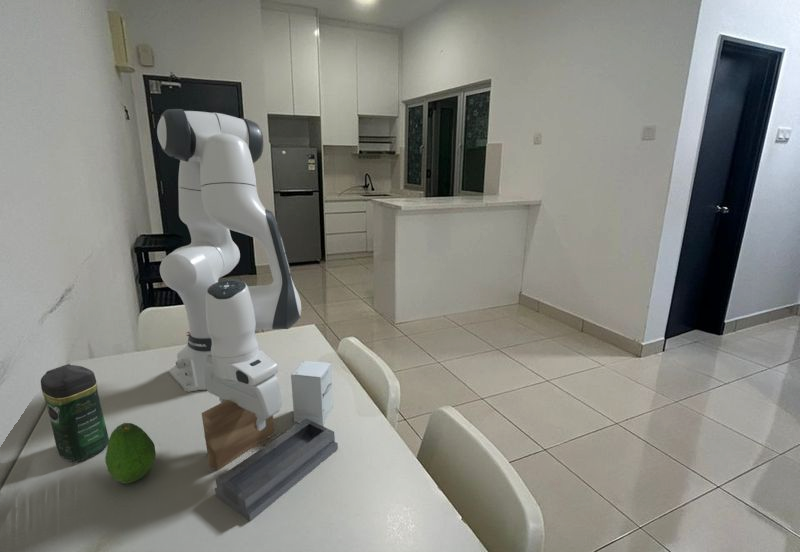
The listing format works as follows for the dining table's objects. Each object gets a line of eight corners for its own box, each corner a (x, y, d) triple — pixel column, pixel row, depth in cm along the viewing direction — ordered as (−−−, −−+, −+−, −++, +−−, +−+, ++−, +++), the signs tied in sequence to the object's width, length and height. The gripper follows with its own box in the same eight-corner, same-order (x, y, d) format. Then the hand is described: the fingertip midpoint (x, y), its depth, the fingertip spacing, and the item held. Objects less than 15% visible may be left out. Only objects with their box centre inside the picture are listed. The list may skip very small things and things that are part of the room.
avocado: (108, 499, 75) (95, 442, 72) (113, 471, 82) (102, 418, 78) (158, 484, 78) (148, 429, 75) (160, 458, 85) (150, 407, 82)
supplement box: (323, 426, 95) (320, 377, 92) (293, 422, 97) (289, 374, 94) (334, 408, 102) (332, 362, 99) (306, 405, 104) (303, 359, 100)
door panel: (209, 464, 83) (201, 413, 80) (265, 429, 95) (261, 382, 91) (217, 470, 82) (210, 418, 79) (274, 433, 93) (269, 386, 90)
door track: (215, 495, 76) (213, 477, 75) (304, 432, 93) (303, 417, 92) (250, 521, 70) (248, 502, 69) (337, 449, 88) (337, 433, 87)
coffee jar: (117, 445, 89) (100, 367, 84) (74, 468, 82) (53, 385, 77) (93, 431, 94) (76, 357, 89) (52, 452, 87) (31, 372, 82)
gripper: (192, 355, 86) (202, 413, 89) (257, 381, 75) (265, 445, 79) (219, 344, 91) (227, 399, 95) (283, 366, 80) (290, 428, 84)
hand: (245, 421), depth 87 cm, fingers open, 8 cm apart
